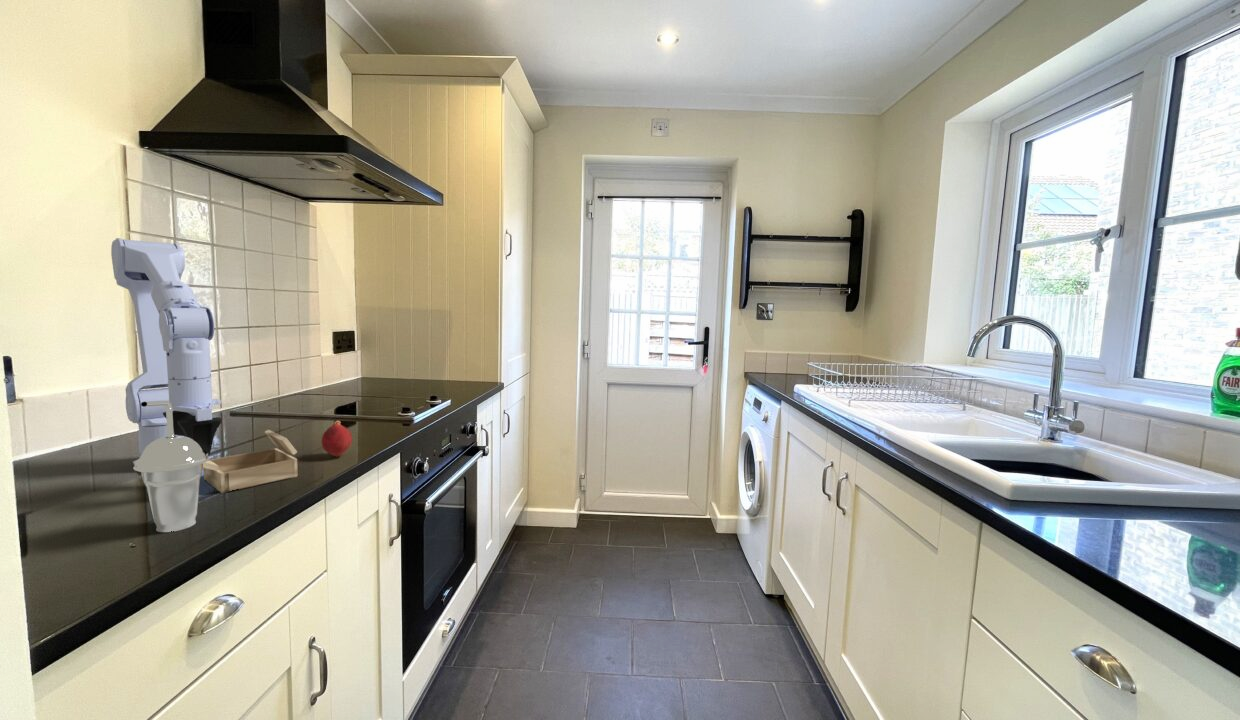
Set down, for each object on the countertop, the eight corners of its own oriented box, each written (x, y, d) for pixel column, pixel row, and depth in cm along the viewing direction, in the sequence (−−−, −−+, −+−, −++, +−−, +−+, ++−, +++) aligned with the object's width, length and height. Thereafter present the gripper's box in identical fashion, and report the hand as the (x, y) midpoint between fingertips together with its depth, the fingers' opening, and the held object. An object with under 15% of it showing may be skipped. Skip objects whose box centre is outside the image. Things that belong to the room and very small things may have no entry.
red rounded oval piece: (339, 462, 108) (338, 425, 107) (315, 459, 109) (314, 422, 108) (358, 454, 113) (357, 419, 112) (335, 451, 115) (335, 417, 114)
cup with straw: (226, 518, 80) (220, 392, 77) (162, 544, 71) (153, 403, 69) (185, 510, 82) (178, 387, 79) (117, 535, 73) (107, 397, 71)
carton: (203, 478, 95) (202, 460, 95) (276, 464, 105) (275, 447, 104) (222, 494, 89) (221, 474, 88) (298, 476, 98) (298, 459, 98)
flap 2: (264, 431, 102) (268, 429, 102) (275, 445, 103) (279, 442, 104) (282, 440, 96) (286, 438, 97) (293, 454, 98) (297, 452, 99)
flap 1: (203, 455, 94) (200, 459, 94) (181, 449, 91) (178, 453, 91) (219, 466, 89) (216, 470, 89) (196, 460, 86) (193, 465, 86)
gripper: (232, 380, 87) (235, 457, 88) (205, 370, 95) (209, 441, 97) (179, 384, 81) (183, 467, 83) (155, 373, 90) (160, 448, 91)
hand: (194, 454), depth 89 cm, fingers open, 7 cm apart
